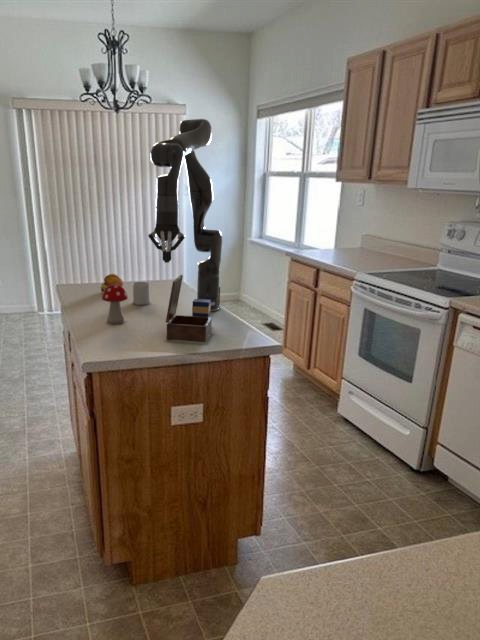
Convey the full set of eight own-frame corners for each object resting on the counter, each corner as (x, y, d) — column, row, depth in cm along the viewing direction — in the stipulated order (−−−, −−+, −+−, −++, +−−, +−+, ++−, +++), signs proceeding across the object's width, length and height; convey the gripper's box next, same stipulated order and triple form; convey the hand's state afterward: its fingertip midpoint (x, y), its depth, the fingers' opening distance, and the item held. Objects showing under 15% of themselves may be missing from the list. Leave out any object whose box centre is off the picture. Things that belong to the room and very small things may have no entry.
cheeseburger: (110, 289, 264) (113, 270, 259) (125, 297, 260) (129, 278, 255) (95, 292, 256) (98, 272, 252) (111, 300, 252) (114, 280, 247)
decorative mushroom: (106, 326, 203) (104, 287, 197) (100, 320, 210) (98, 283, 205) (131, 324, 207) (130, 285, 201) (124, 318, 214) (123, 281, 208)
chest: (211, 334, 196) (211, 317, 194) (205, 344, 185) (205, 326, 182) (174, 331, 199) (174, 314, 196) (166, 341, 187) (166, 323, 184)
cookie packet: (209, 328, 204) (210, 299, 199) (207, 331, 199) (208, 302, 195) (194, 326, 205) (194, 298, 201) (191, 330, 200) (192, 301, 196)
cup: (135, 305, 234) (134, 285, 231) (130, 300, 243) (130, 280, 240) (151, 304, 236) (150, 284, 233) (146, 299, 245) (146, 280, 242)
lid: (183, 275, 190) (180, 274, 190) (175, 281, 178) (172, 281, 178) (175, 313, 196) (173, 313, 196) (167, 322, 184) (165, 322, 184)
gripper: (188, 209, 179) (187, 261, 186) (149, 207, 180) (150, 259, 187) (185, 211, 172) (184, 265, 179) (145, 209, 174) (145, 263, 181)
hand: (166, 262), depth 183 cm, fingers closed
